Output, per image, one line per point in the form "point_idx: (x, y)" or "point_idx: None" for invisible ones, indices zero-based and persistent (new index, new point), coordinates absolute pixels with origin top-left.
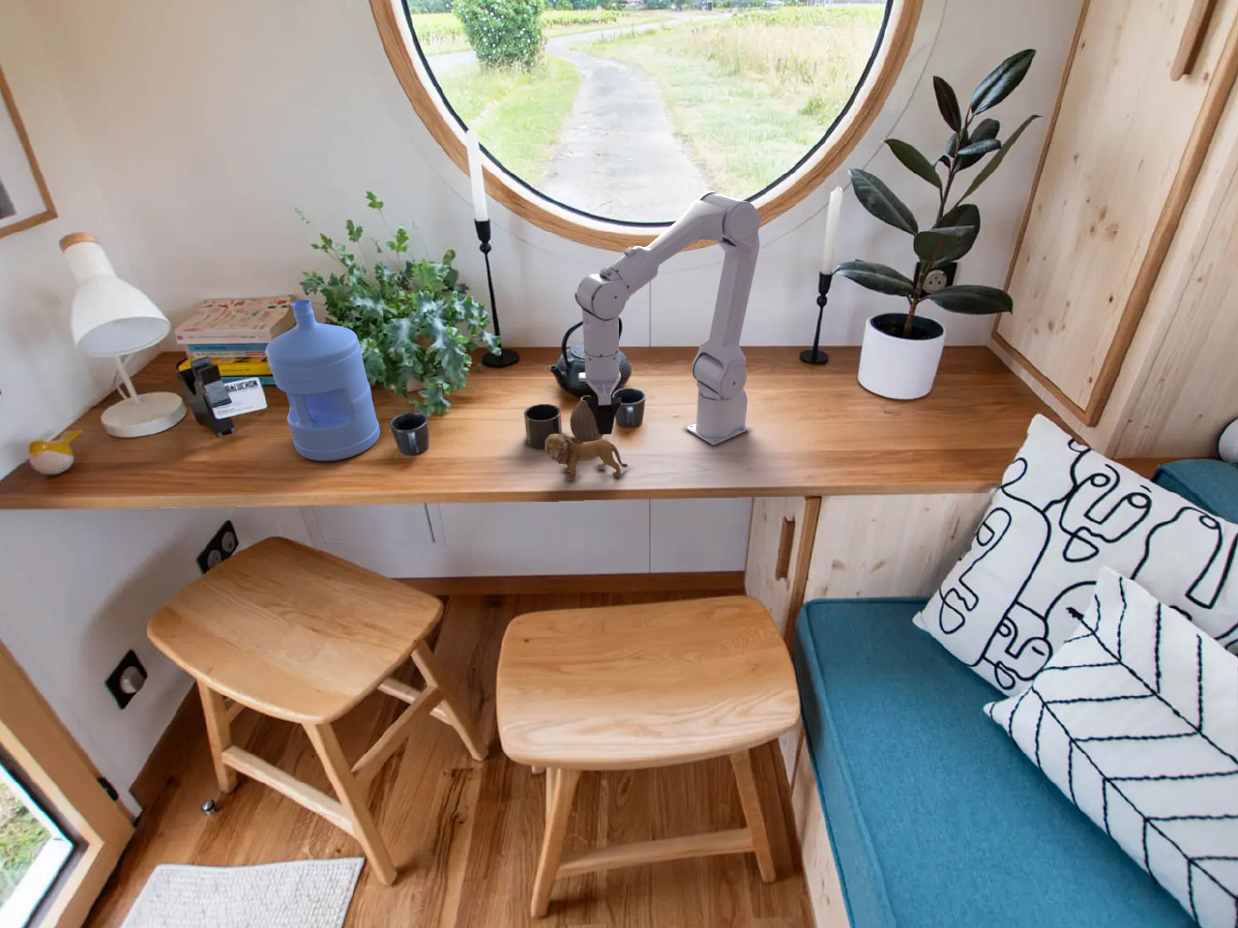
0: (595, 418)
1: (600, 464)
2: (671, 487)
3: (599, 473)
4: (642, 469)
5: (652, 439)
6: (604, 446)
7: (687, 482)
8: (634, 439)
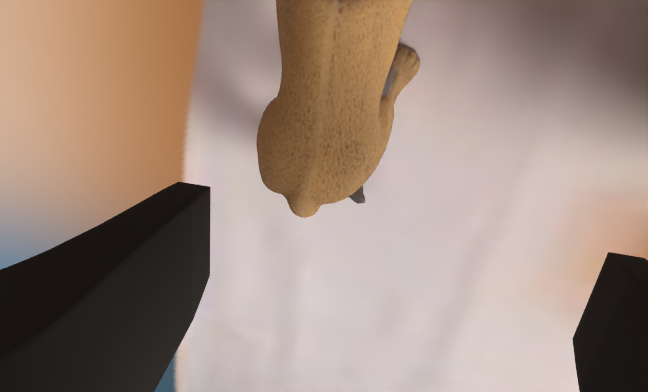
0: (14, 267)
1: (403, 67)
2: None
3: None
4: (338, 252)
5: None
6: (261, 157)
7: (212, 372)
8: None
